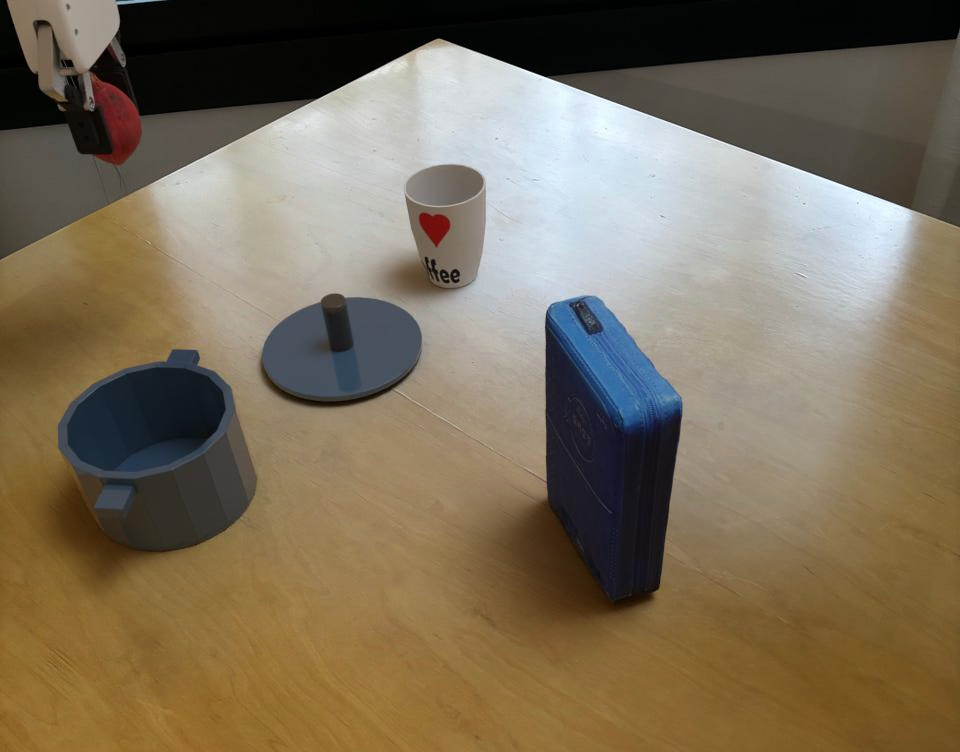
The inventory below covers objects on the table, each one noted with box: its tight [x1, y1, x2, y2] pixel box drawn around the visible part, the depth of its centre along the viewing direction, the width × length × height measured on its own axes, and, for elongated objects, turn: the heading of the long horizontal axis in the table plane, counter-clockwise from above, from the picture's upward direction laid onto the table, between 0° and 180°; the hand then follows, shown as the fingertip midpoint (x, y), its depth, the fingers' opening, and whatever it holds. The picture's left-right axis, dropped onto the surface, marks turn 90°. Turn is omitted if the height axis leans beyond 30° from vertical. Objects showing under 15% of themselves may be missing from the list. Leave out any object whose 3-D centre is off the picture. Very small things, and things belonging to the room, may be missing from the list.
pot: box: [57, 348, 258, 552], centre depth 92 cm, size 15×20×8 cm
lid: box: [261, 292, 423, 402], centre depth 104 cm, size 16×16×6 cm
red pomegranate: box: [89, 71, 143, 166], centre depth 94 cm, size 6×6×8 cm
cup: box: [403, 163, 487, 289], centre depth 110 cm, size 8×8×10 cm
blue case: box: [544, 294, 684, 605], centre depth 80 cm, size 14×5×20 cm, turn 21°
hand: (109, 131), depth 95 cm, fingers closed on red pomegranate, 5 cm apart
